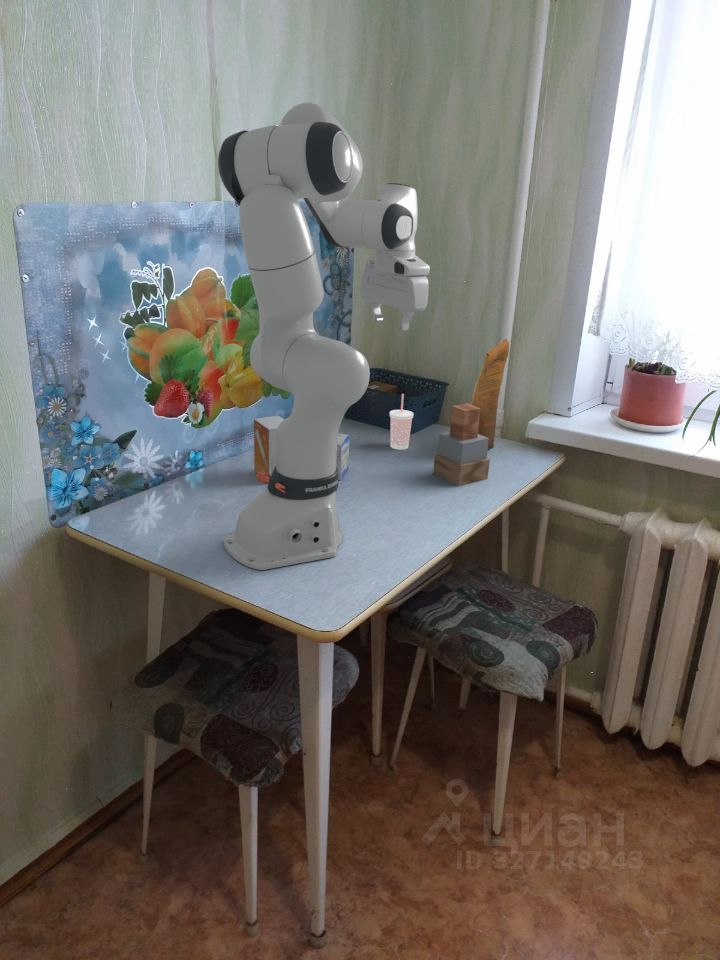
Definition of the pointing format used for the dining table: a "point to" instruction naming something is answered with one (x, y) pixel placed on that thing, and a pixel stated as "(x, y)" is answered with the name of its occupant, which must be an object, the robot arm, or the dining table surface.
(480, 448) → the tower top
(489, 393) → the pancake mix bag
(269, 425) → the small box
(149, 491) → the dining table surface
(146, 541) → the dining table surface
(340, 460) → the medicine box
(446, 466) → the tower base
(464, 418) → the cherry block
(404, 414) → the beverage cup
